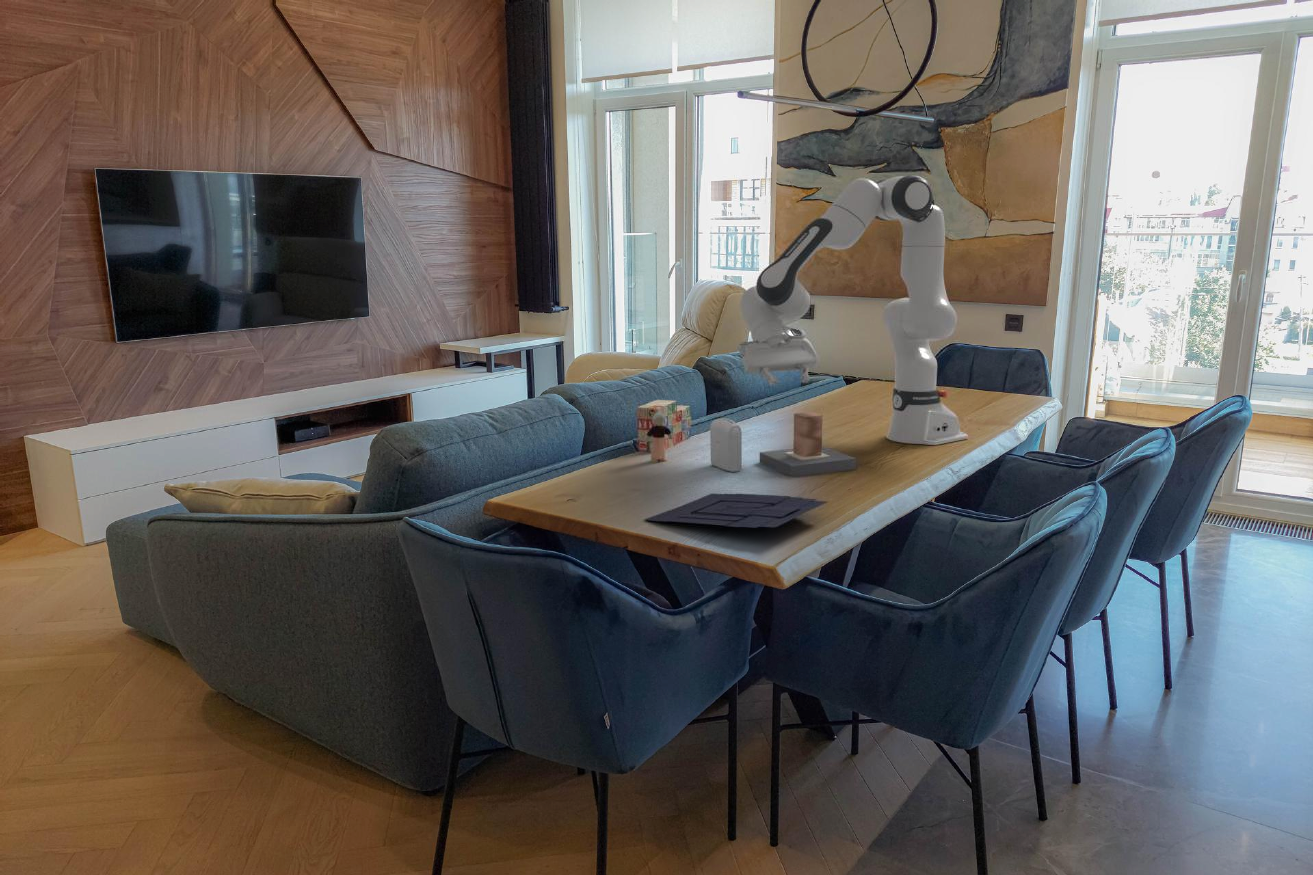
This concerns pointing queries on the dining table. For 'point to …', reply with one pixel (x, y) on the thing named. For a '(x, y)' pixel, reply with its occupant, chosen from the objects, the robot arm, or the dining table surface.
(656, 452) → the grandmother figurine
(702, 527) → the dining table surface
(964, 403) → the dining table surface
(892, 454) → the dining table surface
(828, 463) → the base plate
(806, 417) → the terracotta block
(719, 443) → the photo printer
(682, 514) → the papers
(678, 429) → the stack of blocks
